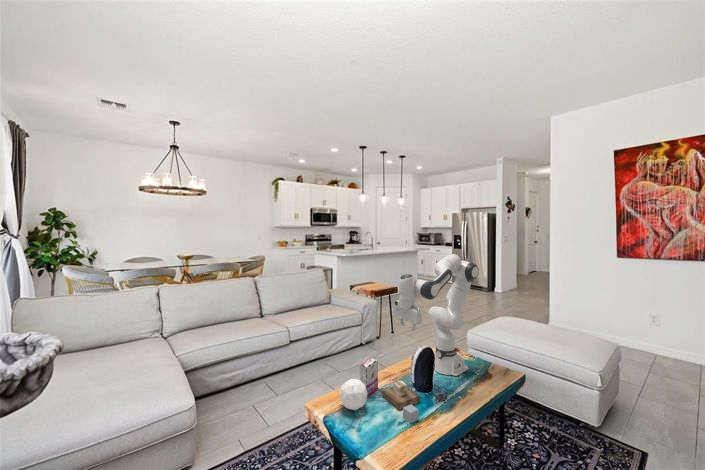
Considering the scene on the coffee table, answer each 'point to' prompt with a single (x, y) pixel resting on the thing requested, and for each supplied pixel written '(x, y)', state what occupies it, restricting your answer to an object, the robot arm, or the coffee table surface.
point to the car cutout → (441, 397)
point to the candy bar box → (369, 375)
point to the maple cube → (400, 388)
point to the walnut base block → (400, 398)
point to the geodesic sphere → (353, 394)
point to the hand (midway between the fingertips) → (407, 327)
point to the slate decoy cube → (410, 413)
